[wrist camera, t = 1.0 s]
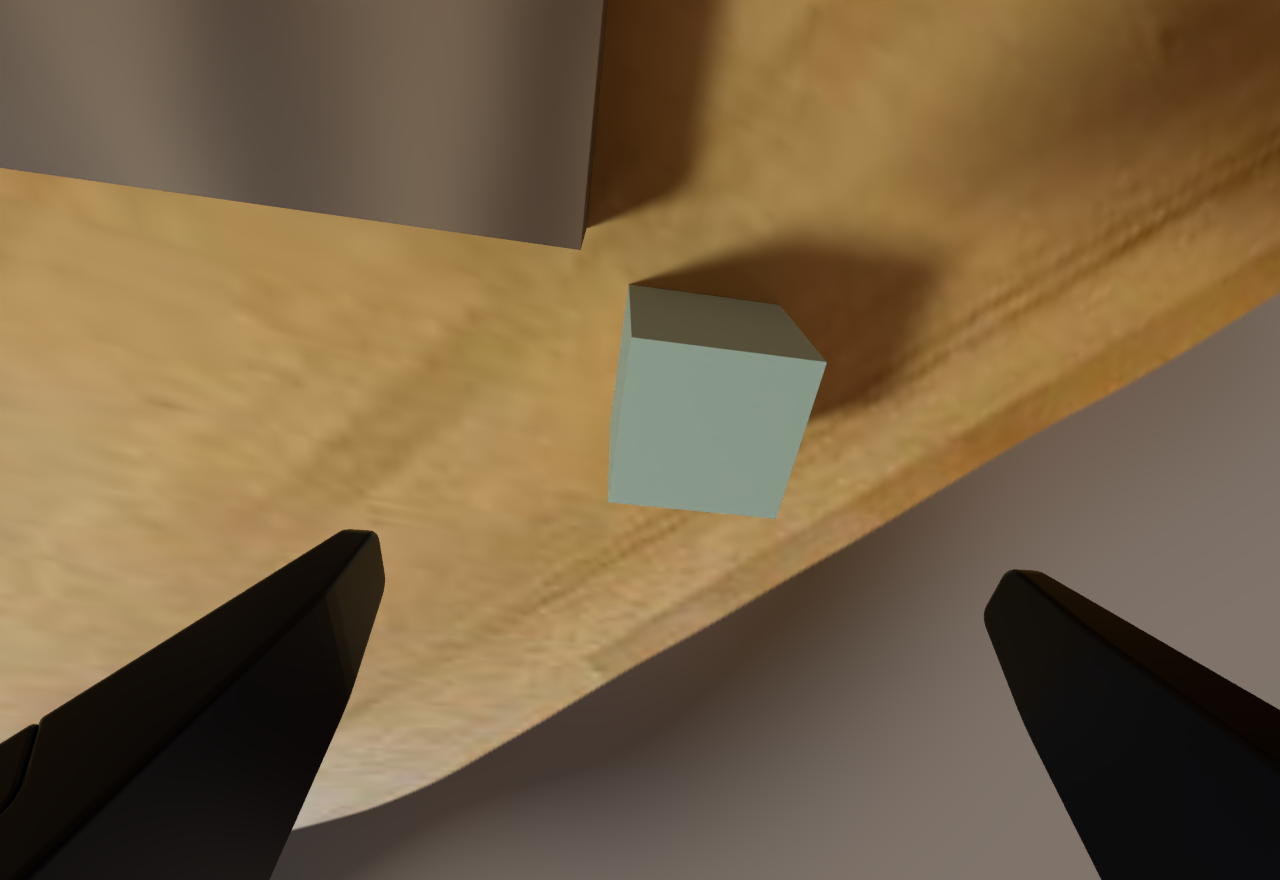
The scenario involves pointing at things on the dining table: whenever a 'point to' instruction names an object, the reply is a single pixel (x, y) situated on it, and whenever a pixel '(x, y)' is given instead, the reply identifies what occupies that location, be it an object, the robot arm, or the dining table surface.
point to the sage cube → (708, 403)
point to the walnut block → (317, 105)
